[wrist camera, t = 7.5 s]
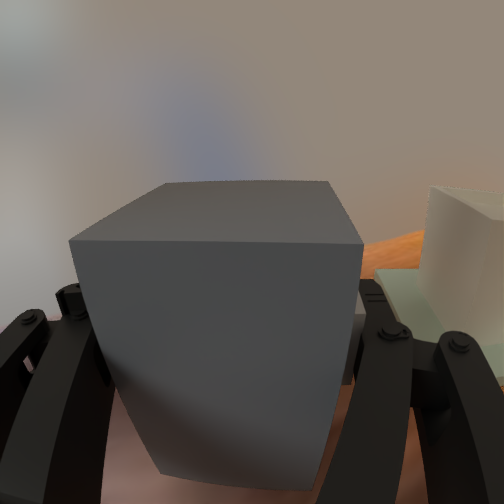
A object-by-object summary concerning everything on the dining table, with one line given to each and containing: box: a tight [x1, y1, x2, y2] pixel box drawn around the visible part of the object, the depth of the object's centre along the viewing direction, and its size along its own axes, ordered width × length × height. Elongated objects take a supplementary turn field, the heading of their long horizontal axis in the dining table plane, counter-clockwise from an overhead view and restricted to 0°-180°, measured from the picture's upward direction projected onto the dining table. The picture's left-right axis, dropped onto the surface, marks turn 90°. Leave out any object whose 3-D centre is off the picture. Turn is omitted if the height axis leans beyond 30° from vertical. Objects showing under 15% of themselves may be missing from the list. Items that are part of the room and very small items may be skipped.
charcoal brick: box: [69, 180, 364, 491], centre depth 10 cm, size 6×6×10 cm
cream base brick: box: [416, 185, 504, 347], centre depth 19 cm, size 10×10×9 cm
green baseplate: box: [374, 269, 504, 386], centre depth 21 cm, size 16×16×1 cm
